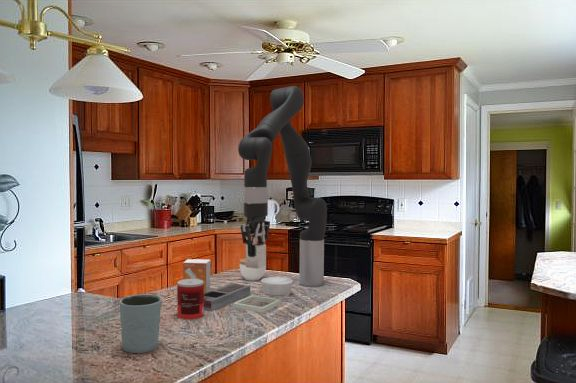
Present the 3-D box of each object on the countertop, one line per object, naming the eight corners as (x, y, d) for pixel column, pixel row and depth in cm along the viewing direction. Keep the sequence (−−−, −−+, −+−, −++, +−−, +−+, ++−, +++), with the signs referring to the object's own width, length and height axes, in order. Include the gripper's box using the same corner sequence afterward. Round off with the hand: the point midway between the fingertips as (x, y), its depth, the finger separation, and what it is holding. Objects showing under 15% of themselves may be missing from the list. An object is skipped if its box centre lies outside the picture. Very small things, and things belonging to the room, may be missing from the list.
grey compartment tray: (230, 294, 172) (230, 283, 172) (250, 297, 169) (250, 285, 168) (190, 310, 153) (190, 297, 153) (211, 314, 149) (211, 301, 149)
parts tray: (251, 302, 163) (251, 295, 163) (280, 306, 158) (280, 299, 158) (232, 310, 153) (232, 303, 153) (263, 315, 148) (263, 308, 148)
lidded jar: (233, 279, 196) (233, 256, 195) (252, 274, 204) (252, 252, 203) (253, 283, 189) (253, 259, 188) (271, 278, 197) (271, 255, 197)
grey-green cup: (138, 337, 129) (137, 292, 128) (170, 343, 125) (170, 296, 124) (110, 350, 120) (110, 302, 119) (144, 357, 116) (144, 307, 115)
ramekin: (292, 299, 167) (292, 284, 167) (259, 299, 167) (259, 283, 167) (292, 291, 178) (293, 276, 178) (262, 290, 179) (262, 276, 178)
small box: (182, 301, 164) (182, 262, 163) (187, 296, 170) (187, 258, 170) (206, 301, 163) (206, 262, 163) (210, 296, 170) (210, 259, 169)
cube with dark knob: (253, 264, 158) (253, 242, 158) (266, 265, 156) (266, 243, 156) (245, 267, 154) (245, 244, 154) (258, 268, 152) (258, 245, 152)
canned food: (194, 312, 151) (193, 277, 150) (209, 318, 145) (209, 281, 145) (172, 318, 146) (171, 281, 145) (187, 324, 140) (186, 286, 139)
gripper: (257, 199, 162) (258, 250, 163) (232, 202, 150) (233, 258, 151) (277, 200, 159) (277, 252, 160) (253, 203, 146) (253, 260, 147)
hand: (255, 255), depth 155 cm, fingers closed on cube with dark knob, 4 cm apart
